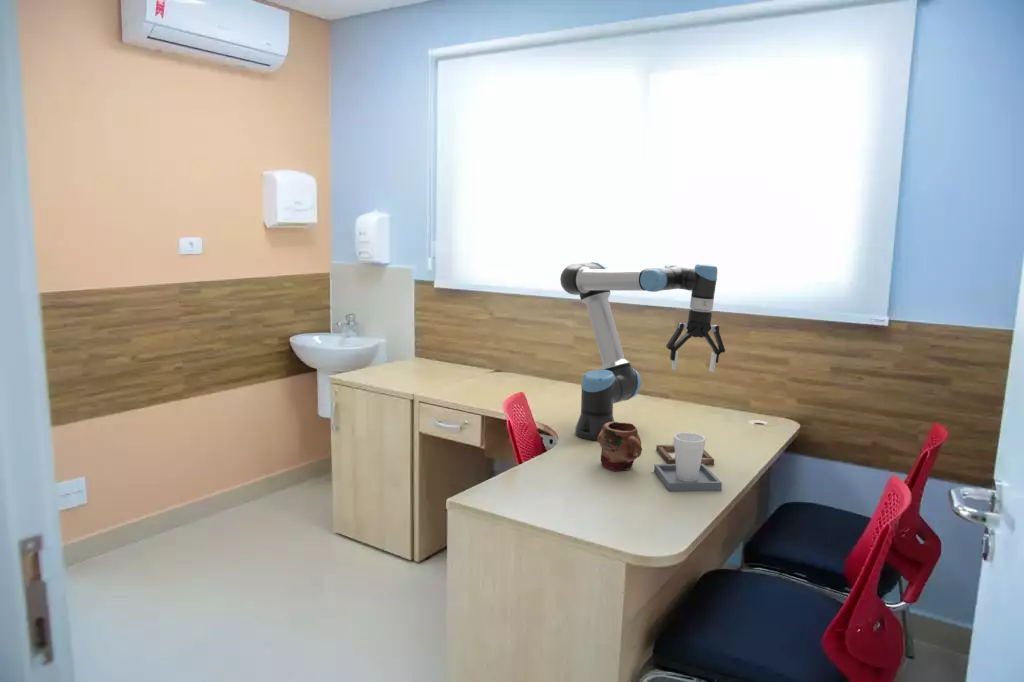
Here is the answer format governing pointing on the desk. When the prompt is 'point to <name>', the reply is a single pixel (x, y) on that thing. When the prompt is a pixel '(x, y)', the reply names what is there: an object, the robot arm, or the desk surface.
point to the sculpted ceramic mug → (619, 445)
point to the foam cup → (688, 455)
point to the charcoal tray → (672, 483)
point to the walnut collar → (668, 459)
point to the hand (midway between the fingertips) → (692, 370)
